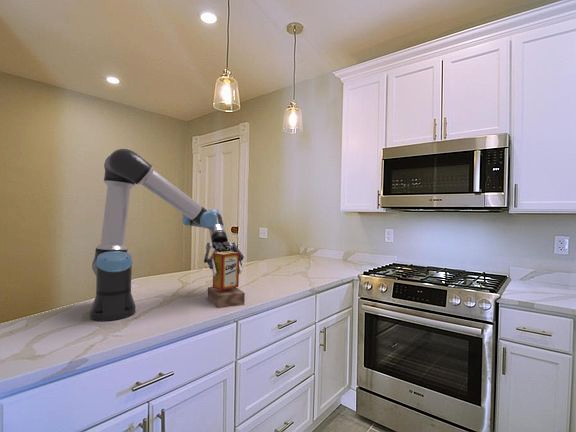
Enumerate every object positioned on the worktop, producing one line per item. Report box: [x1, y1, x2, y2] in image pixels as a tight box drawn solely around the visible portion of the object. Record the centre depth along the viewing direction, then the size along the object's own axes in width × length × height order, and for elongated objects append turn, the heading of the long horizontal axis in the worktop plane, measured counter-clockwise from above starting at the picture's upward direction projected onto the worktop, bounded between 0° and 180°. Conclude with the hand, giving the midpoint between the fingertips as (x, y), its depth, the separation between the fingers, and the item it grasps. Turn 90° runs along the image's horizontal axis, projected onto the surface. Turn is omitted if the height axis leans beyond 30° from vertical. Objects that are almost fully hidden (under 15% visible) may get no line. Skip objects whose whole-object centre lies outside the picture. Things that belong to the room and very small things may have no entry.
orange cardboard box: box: [212, 251, 240, 291], centre depth 137 cm, size 10×6×16 cm
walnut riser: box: [206, 286, 246, 309], centre depth 137 cm, size 12×16×5 cm
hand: (228, 273), depth 135 cm, fingers closed on orange cardboard box, 11 cm apart
